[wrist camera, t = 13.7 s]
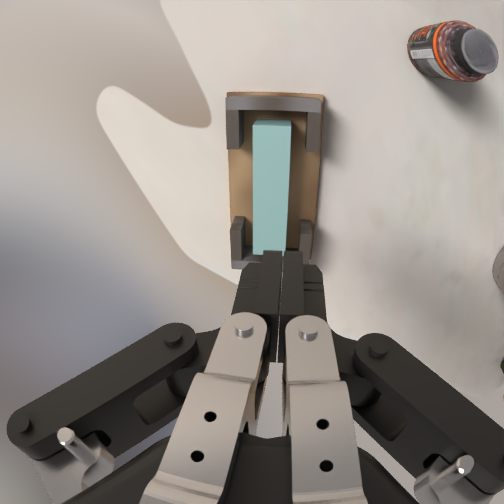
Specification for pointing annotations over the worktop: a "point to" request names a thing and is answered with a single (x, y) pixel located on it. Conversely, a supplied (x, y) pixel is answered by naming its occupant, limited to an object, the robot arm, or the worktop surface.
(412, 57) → the supplement bottle
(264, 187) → the teal rectangular block
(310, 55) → the worktop surface
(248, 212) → the endcap board
